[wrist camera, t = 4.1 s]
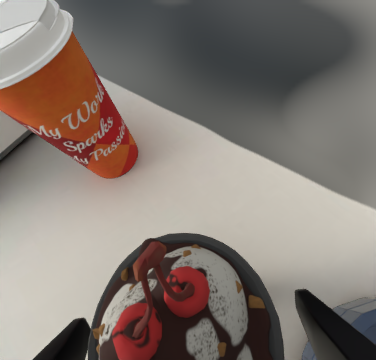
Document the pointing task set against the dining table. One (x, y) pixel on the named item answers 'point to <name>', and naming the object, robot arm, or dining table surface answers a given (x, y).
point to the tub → (10, 134)
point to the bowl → (353, 320)
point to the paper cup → (59, 88)
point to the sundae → (185, 306)
